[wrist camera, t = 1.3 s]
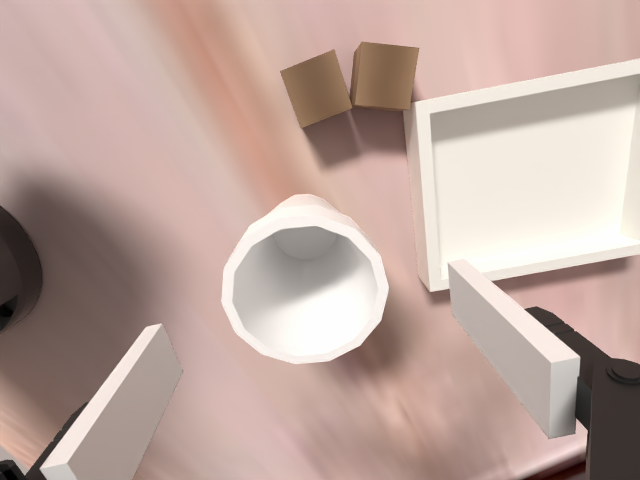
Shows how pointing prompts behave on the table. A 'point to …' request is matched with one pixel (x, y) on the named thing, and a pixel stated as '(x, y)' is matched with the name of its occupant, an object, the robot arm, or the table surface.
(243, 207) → the table surface
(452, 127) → the tray
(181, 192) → the table surface
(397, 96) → the walnut block
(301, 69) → the walnut block
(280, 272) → the foam cup
